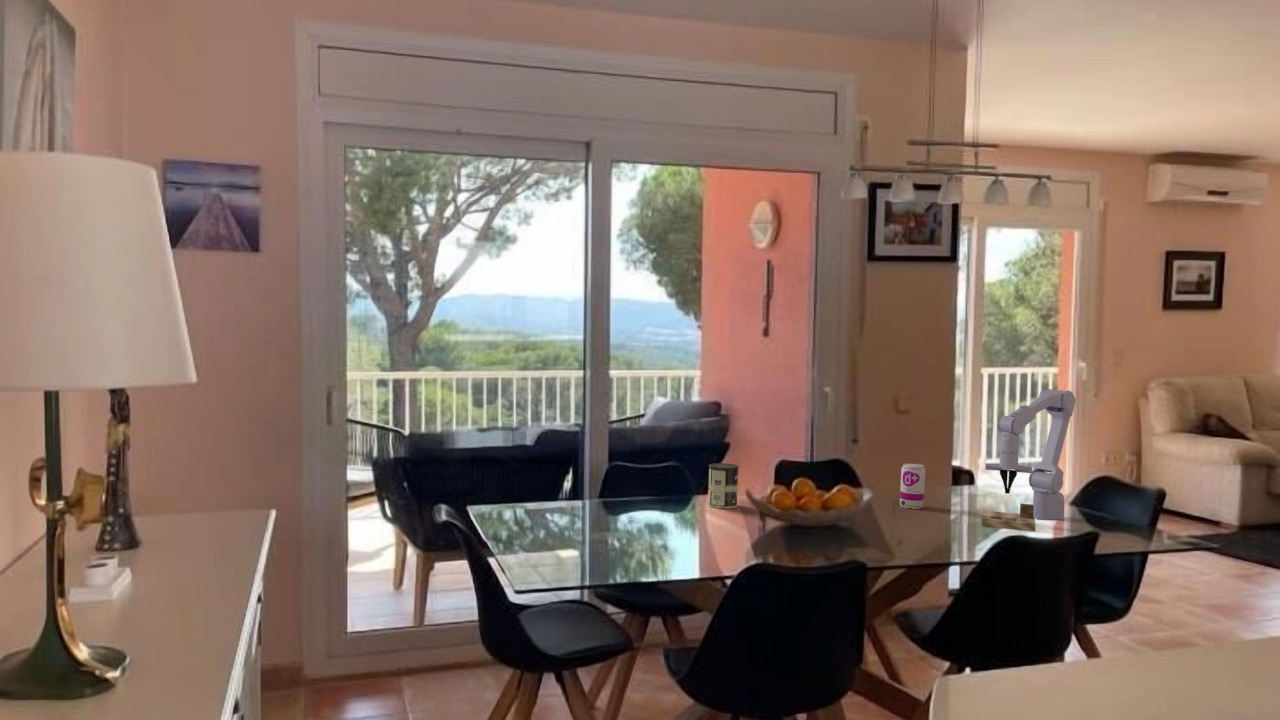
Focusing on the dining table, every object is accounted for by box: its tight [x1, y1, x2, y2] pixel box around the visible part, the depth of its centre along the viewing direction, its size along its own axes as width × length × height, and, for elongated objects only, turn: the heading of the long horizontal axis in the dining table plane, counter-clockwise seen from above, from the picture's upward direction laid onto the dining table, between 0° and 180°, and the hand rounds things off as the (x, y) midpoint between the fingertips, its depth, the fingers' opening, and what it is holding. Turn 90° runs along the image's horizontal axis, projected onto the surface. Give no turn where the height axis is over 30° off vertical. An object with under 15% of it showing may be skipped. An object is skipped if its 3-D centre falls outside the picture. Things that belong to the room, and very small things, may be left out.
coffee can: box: [707, 462, 739, 510], centre depth 329 cm, size 10×10×14 cm
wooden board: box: [981, 510, 1036, 532], centre depth 314 cm, size 16×14×2 cm
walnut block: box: [1019, 503, 1034, 519], centre depth 314 cm, size 4×4×4 cm
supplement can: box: [899, 463, 927, 510], centre depth 337 cm, size 8×8×15 cm
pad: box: [1017, 513, 1036, 521], centre depth 315 cm, size 5×8×2 cm, turn 159°
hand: (1007, 493), depth 316 cm, fingers closed
